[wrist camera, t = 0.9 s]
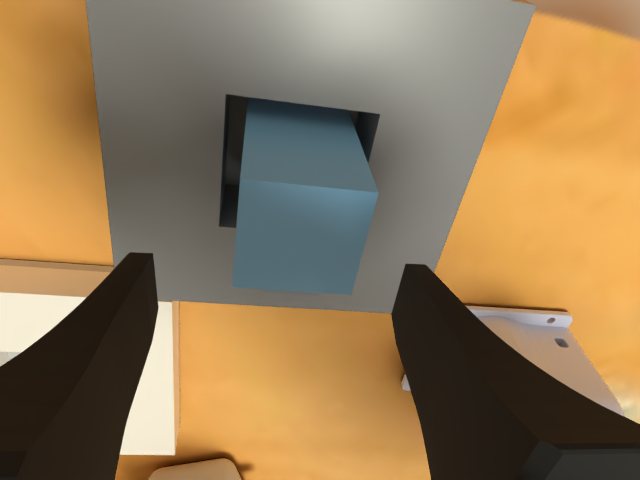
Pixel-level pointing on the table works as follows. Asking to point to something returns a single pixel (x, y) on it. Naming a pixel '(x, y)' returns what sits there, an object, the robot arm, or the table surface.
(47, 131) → the table surface
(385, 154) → the grey square socket block
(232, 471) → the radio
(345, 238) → the plug
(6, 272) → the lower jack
